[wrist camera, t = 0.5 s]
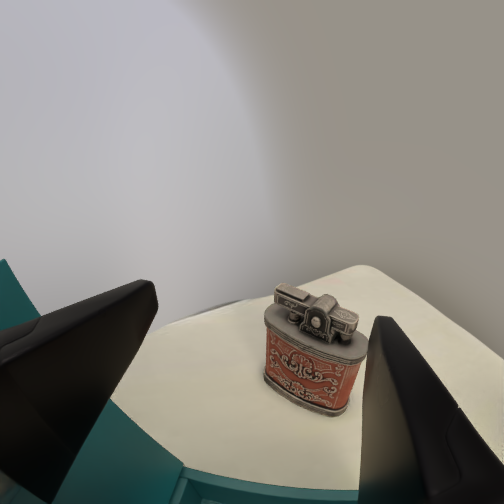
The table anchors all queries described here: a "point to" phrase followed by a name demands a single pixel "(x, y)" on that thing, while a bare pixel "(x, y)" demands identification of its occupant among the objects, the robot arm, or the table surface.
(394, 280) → the table surface
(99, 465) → the teal box lid
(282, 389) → the lighter
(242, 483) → the teal open box
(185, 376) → the table surface
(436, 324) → the table surface
